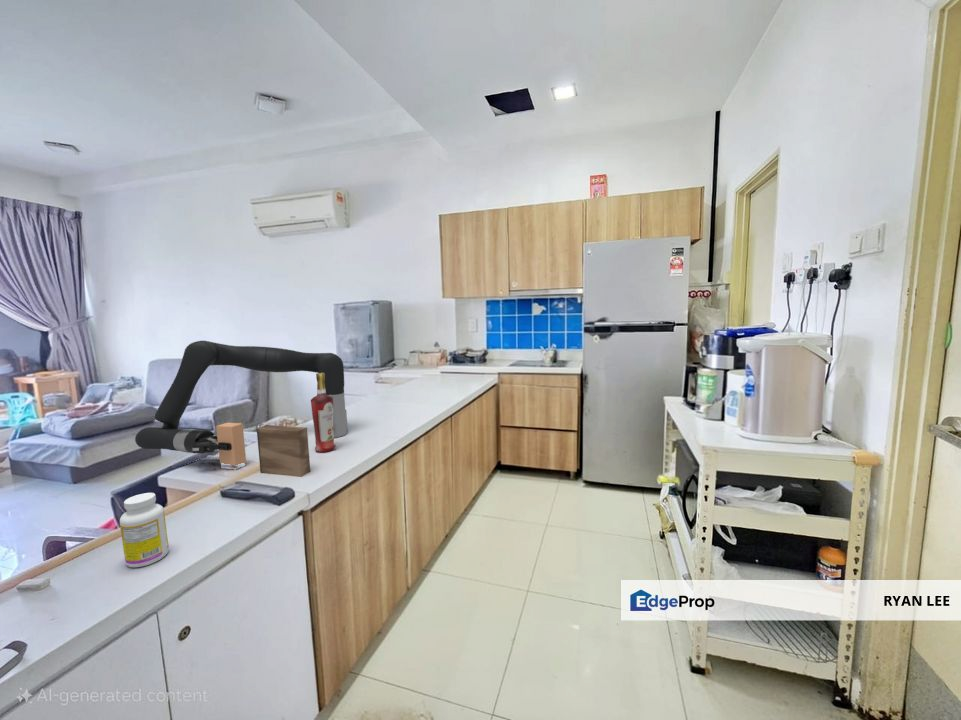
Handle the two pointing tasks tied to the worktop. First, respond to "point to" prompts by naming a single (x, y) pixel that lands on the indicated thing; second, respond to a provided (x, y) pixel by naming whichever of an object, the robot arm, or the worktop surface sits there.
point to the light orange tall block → (232, 443)
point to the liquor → (323, 417)
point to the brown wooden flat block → (283, 450)
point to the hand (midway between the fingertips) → (236, 444)
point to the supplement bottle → (143, 530)
